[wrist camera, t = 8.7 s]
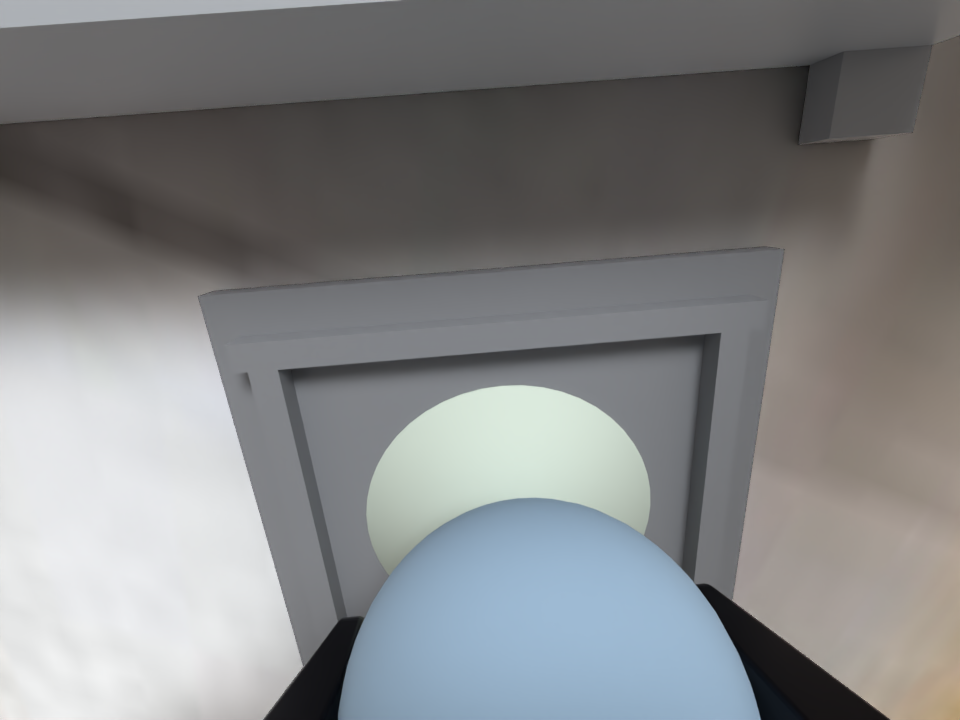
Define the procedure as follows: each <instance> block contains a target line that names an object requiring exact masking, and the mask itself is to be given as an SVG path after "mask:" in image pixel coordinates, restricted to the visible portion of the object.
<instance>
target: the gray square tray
mask: <svg viewBox="0 0 960 720" xmlns="http://www.w3.org/2000/svg"><path fill="white" fill-rule="evenodd" d="M783 256H784V249H780V248H773V247H754V248H742V249H729V250H717V251H704V252H692V253H680V254H667V255H655V256H642V257H630V258H617V259H605V260H592V261H580V262H568V263H555V264H543V265H530V266H518V267H505V268H493V269H480V270H468V271H455V272H443V273H431V274H418V275H406V276H393V277H381V278H368V279H356V280H343V281H331V282H319V283H306V284H294V285H281V286H269V287H256V288H244V289H231V290H219V291H212V292H209V293H206V294H203V295H200V296H198V299H199V302H200V306H201V309H202V313H203V316H204V320H205V323H206V327H207V330H208V334H209V337H210V341H211V344H212V348H213V351H214V355H215V358H216V362H217V365H218V369H219V372H220V376H221V379H222V383H223V386H224V390H225V393H226V397H227V400H228V404H229V407H230V411H231V414H232V418H233V421H234V425H235V428H236V432H237V435H238V439H239V442H240V446H241V449H242V453H243V456H244V460H245V463H246V467H247V470H248V474H249V477H250V481H251V484H252V488H253V491H254V495H255V498H256V502H257V505H258V509H259V512H260V516H261V519H262V523H263V526H264V530H265V533H266V537H267V540H268V544H269V547H270V551H271V554H272V558H273V561H274V565H275V568H276V572H277V575H278V579H279V583H280V586H281V590H282V593H283V597H284V600H285V604H286V607H287V611H288V614H289V618H290V621H291V625H292V628H293V632H294V635H295V639H296V642H297V646H298V649H299V653H300V656H301V660H302V663H303V667H304V665H305V664H306V663H307V662H308V660H309V659H310V658H311V656H312V655H313V654H314V652H315V651H316V650H317V648H318V647H319V646H320V644H321V643H322V642H323V641H324V639H325V638H326V637H327V635H328V634H329V633H330V631H331V630H332V629H333V627H334V626H335V625H336V623H337V622H338V621H339V620H340V619H341V618H344V617H352V616H362V617H364V619H365V617H366V614H367V612H368V610H369V608H370V606H371V604H372V602H373V600H374V599H375V597H376V596H377V594H378V592H379V591H380V589H381V588H382V586H383V584H384V583H385V582H386V580H387V579H388V577H389V576H390V574H391V573H392V571H393V570H394V569H395V568H396V567H397V565H398V564H399V563H400V562H401V561H402V559H403V558H404V557H405V556H406V555H407V554H408V553H409V552H410V551H411V550H412V549H413V548H414V547H415V546H416V545H417V544H418V543H420V542H421V541H422V540H423V539H424V538H425V537H426V536H427V535H429V534H430V533H431V532H433V531H434V530H436V529H437V528H439V527H440V526H442V525H443V524H445V523H446V522H448V521H450V520H452V519H454V518H456V517H458V516H459V515H461V514H463V513H465V512H467V511H470V510H472V509H475V508H477V507H480V506H483V505H486V504H490V503H494V502H498V501H502V500H509V499H516V498H547V499H556V500H561V501H566V502H572V503H577V504H581V505H584V506H587V507H590V508H593V509H596V510H598V511H600V512H603V513H605V514H607V515H609V516H611V517H613V518H615V519H617V520H619V521H621V522H623V523H625V524H627V525H629V526H630V527H632V528H633V529H635V530H636V531H638V532H639V533H641V534H642V535H644V536H645V537H646V538H648V539H649V540H650V541H652V542H653V543H654V544H656V545H657V546H658V547H659V548H660V549H662V550H663V551H664V552H665V553H666V554H667V555H668V556H669V557H671V558H672V559H673V560H674V561H675V562H676V563H677V565H678V566H679V567H680V568H681V569H682V570H683V571H684V572H685V573H686V574H687V575H688V576H689V577H690V579H691V580H692V581H693V582H694V583H695V584H702V583H706V584H709V585H711V586H713V587H714V588H716V589H717V590H718V591H720V592H721V593H722V594H724V595H725V596H726V597H728V598H729V599H730V600H732V599H733V592H734V585H735V578H736V572H737V565H738V558H739V552H740V545H741V538H742V531H743V525H744V518H745V511H746V505H747V498H748V491H749V484H750V478H751V471H752V464H753V457H754V451H755V444H756V437H757V431H758V424H759V417H760V410H761V404H762V397H763V390H764V384H765V377H766V370H767V363H768V357H769V350H770V343H771V336H772V330H773V323H774V316H775V310H776V303H777V296H778V289H779V283H780V276H781V269H782V263H783Z"/></svg>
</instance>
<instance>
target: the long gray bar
mask: <svg viewBox="0 0 960 720" xmlns="http://www.w3.org/2000/svg"><path fill="white" fill-rule="evenodd" d="M957 36H960V0H0V124H10V123H23V122H37V121H51V120H64V119H78V118H92V117H106V116H119V115H133V114H147V113H160V112H174V111H188V110H201V109H215V108H229V107H243V106H256V105H270V104H284V103H297V102H311V101H325V100H339V99H352V98H366V97H380V96H393V95H407V94H421V93H434V92H448V91H462V90H476V89H489V88H503V87H517V86H530V85H544V84H558V83H572V82H585V81H599V80H613V79H626V78H640V77H654V76H667V75H681V74H695V73H709V72H722V71H736V70H750V69H763V68H777V67H791V66H804V65H810V69H809V75H808V82H807V89H806V96H805V103H804V109H803V116H802V123H801V130H800V136H799V143H798V145H800V144H813V143H826V142H839V141H852V140H865V139H877V138H883V137H889V136H895V135H901V134H907V133H913V130H914V125H915V121H916V116H917V112H918V107H919V103H920V98H921V94H922V89H923V85H924V80H925V76H926V71H927V67H928V62H929V58H930V53H931V49H932V45H934V44H937V43H939V42H942V41H945V40H948V39H951V38H954V37H957Z"/></svg>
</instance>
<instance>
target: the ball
mask: <svg viewBox="0 0 960 720" xmlns="http://www.w3.org/2000/svg"><path fill="white" fill-rule="evenodd" d="M338 720H761V718H760V714H759V710H758V707H757V703H756V699H755V696H754V693H753V690H752V687H751V684H750V681H749V679H748V676H747V674H746V671H745V668H744V666H743V663H742V661H741V658H740V656H739V654H738V652H737V650H736V648H735V646H734V644H733V643H732V641H731V639H730V637H729V635H728V633H727V632H726V630H725V628H724V626H723V624H722V623H721V621H720V619H719V617H718V615H717V613H716V612H715V610H714V609H713V607H712V606H711V605H710V603H709V602H708V601H707V599H706V598H705V596H704V595H703V594H702V592H701V591H700V590H699V588H698V587H697V586H696V585H695V583H694V582H693V581H692V580H691V579H690V577H689V576H688V575H687V574H686V573H685V572H684V571H683V570H682V569H681V568H680V567H679V566H678V565H677V563H676V562H675V561H674V560H673V559H672V558H671V557H669V556H668V555H667V554H666V553H665V552H664V551H663V550H662V549H660V548H659V547H658V546H657V545H656V544H654V543H653V542H652V541H650V540H649V539H648V538H646V537H645V536H644V535H642V534H641V533H639V532H638V531H636V530H635V529H633V528H632V527H630V526H629V525H627V524H625V523H623V522H621V521H619V520H617V519H615V518H613V517H611V516H609V515H607V514H605V513H603V512H600V511H598V510H596V509H593V508H590V507H587V506H584V505H581V504H577V503H572V502H566V501H561V500H556V499H547V498H516V499H509V500H502V501H498V502H494V503H490V504H486V505H483V506H480V507H477V508H475V509H472V510H470V511H467V512H465V513H463V514H461V515H459V516H458V517H456V518H454V519H452V520H450V521H448V522H446V523H445V524H443V525H442V526H440V527H439V528H437V529H436V530H434V531H433V532H431V533H430V534H429V535H427V536H426V537H425V538H424V539H423V540H422V541H421V542H420V543H418V544H417V545H416V546H415V547H414V548H413V549H412V550H411V551H410V552H409V553H408V554H407V555H406V556H405V557H404V558H403V559H402V561H401V562H400V563H399V564H398V565H397V567H396V568H395V569H394V570H393V571H392V573H391V574H390V576H389V577H388V579H387V580H386V582H385V583H384V584H383V586H382V588H381V589H380V591H379V592H378V594H377V596H376V597H375V599H374V600H373V602H372V604H371V606H370V608H369V610H368V612H367V614H366V617H365V619H364V621H363V623H362V625H361V628H360V630H359V632H358V635H357V637H356V640H355V642H354V646H353V649H352V652H351V655H350V658H349V662H348V665H347V669H346V673H345V678H344V682H343V688H342V693H341V699H340V705H339V710H338Z"/></svg>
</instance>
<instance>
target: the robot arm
mask: <svg viewBox="0 0 960 720" xmlns="http://www.w3.org/2000/svg"><path fill="white" fill-rule="evenodd" d="M695 585H696V586H697V587H698V588H699V590H700V591H701V592H702V594H703V595H704V596H705V598H706V599H707V601H708V602H709V603H710V605H711V606H712V607H713V609H714V610H715V612H716V613H717V615H718V617H719V619H720V621H721V623H722V624H723V626H724V628H725V630H726V632H727V633H728V635H729V637H730V639H731V641H732V643H733V644H734V646H735V648H736V650H737V652H738V654H739V656H740V658H741V661H742V663H743V666H744V668H745V671H746V674H747V676H748V679H749V681H750V684H751V687H752V690H753V693H754V696H755V699H756V703H757V707H758V710H759V714H760V718H761V720H890V719H889V718H888V717H886V716H885V715H884V714H882V713H881V712H880V711H878V710H877V709H876V708H874V707H873V706H872V705H870V704H869V703H868V702H866V701H865V700H864V699H862V698H861V697H860V696H858V695H857V694H856V693H854V692H853V691H852V690H850V689H849V688H848V687H846V686H845V685H844V684H842V683H841V682H840V681H838V680H837V679H836V678H834V677H833V676H832V675H830V674H829V673H828V672H826V671H825V670H824V669H822V668H821V667H820V666H818V665H817V664H816V663H814V662H813V661H812V660H810V659H809V658H808V657H806V656H805V655H804V654H802V653H801V652H800V651H798V650H797V649H796V648H794V647H793V646H792V645H790V644H789V643H788V642H786V641H785V640H784V639H782V638H781V637H780V636H778V635H777V634H776V633H774V632H773V631H772V630H770V629H769V628H768V627H766V626H765V625H764V624H762V623H761V622H760V621H758V620H757V619H756V618H754V617H753V616H752V615H750V614H749V613H748V612H746V611H745V610H744V609H742V608H741V607H740V606H738V605H737V604H736V603H734V602H733V601H732V600H730V599H729V598H728V597H726V596H725V595H724V594H722V593H721V592H720V591H718V590H717V589H716V588H714V587H713V586H711V585H709V584H706V583H702V584H695ZM363 621H364V617H362V616H352V617H344V618H341V619H340V620H339V621H338V622H337V623H336V625H335V626H334V627H333V629H332V630H331V631H330V633H329V634H328V635H327V637H326V638H325V639H324V641H323V642H322V643H321V644H320V646H319V647H318V648H317V650H316V651H315V652H314V654H313V655H312V656H311V658H310V659H309V660H308V662H307V663H306V664H305V665H304V667H303V668H302V669H301V671H300V672H299V673H298V675H297V676H296V677H295V679H294V680H293V681H292V683H291V684H290V685H289V687H288V688H287V689H286V690H285V692H284V693H283V694H282V696H281V697H280V698H279V700H278V701H277V702H276V704H275V705H274V706H273V708H272V709H271V710H270V711H269V713H268V714H267V715H266V717H265V718H264V719H263V720H338V710H339V705H340V699H341V693H342V688H343V682H344V678H345V673H346V669H347V665H348V662H349V658H350V655H351V652H352V649H353V646H354V642H355V640H356V637H357V635H358V632H359V630H360V628H361V625H362V623H363Z"/></svg>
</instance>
